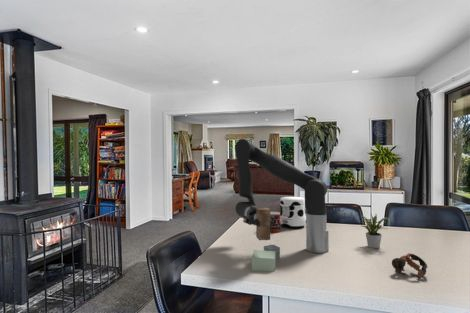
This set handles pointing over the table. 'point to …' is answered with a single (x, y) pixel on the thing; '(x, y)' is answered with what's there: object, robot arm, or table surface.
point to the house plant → (373, 232)
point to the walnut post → (263, 223)
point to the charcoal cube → (273, 248)
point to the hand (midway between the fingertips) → (265, 223)
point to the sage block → (263, 260)
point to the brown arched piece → (400, 263)
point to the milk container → (292, 212)
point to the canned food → (275, 222)
